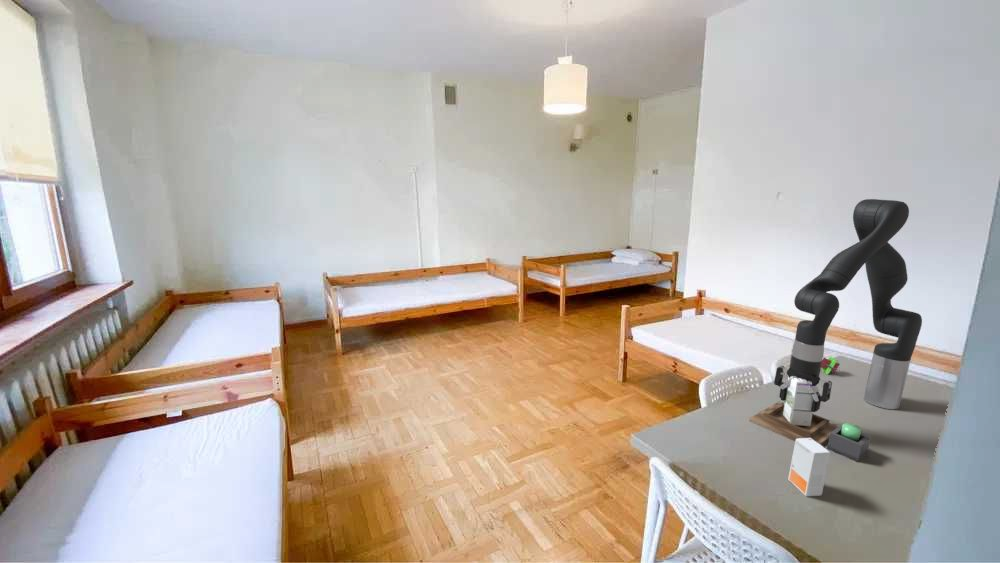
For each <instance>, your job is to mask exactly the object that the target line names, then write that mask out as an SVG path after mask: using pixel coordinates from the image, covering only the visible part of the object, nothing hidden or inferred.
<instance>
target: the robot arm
mask: <svg viewBox="0 0 1000 563" xmlns="http://www.w3.org/2000/svg"><path fill="white" fill-rule="evenodd" d="M909 214H910V210H909V206H908V204H907V203H906V202H904V201H899V200H893V199H892V200H891V199H890V200H889V199H876V198H868V199H867V198H866V199H863V200H860V201H859V202H857V204H856V205H855V207H854V210H853V215H852V221H853V225H854V230H855V232H856V235H857V238H858V240H859V241H858V242H856V243H854V244H852V245H851V246H849V247H847V248H845V249H844V250H841V251H840V252H838V253H837V254H835V255H834V257H832V258H831V259H830V260H829V262H828V263H827V264H826V266H824V268H823V269H822V271H821V273H820V274H818V275H817V276H816V277H814V278H813V279H812V280H811V281H809V282H808V283H806V284H805V285H804V286H802V287H801V288H800V290H798V292H797V293H796V295H795V297H794V301H793V302H794V306H795V308H796V309H797V310H799V311H801V312H804V313H807V314H810V315H814V318H813V319H812V320H809V319H806V320H805V319H804V320H801V321H799V322H798V324H797V326H796V332H795V336H794V337H795V338H794V342H793V344H792V348H791V355H790V360H789V368H786V367H785V366H783V365H781V366H778V367H777V368H776V371H775V376H774V381H773V382H774V383H773V384H774V385H775V386H778V387H779V389H780V391H779V395H778V398H779V399H780V401H782V402H785V396H786V389H787V386H789V385H790V384H791V379H792V378H796V379H798V378H801V379H804V381H807V384H808V391H809V393H810V394H811V395H812V397H813V399H814V400H813V403H812V409H811V411H812V412H813V413H815V412H818V411H819V410H820V407H821V403H822V402H823V403H826V402H828V401H829V400H830V398H831V393H832V385H833V383H832V381H831V380H824V379H821V377H820V374H821V370H822V368H821V365H822V360H823V358H824V354H825V353H824V352H825V342H826V336H827V331H828V329H829V328H830V326H831V324H832V322H833V320H834V318H835V317H836V315H837V313H838V311H839V309H840V302H839V299H838V297H837V296H836V295H835V294H833V293H830V292H840V291H843V290H845V289H846V288H847V287H848V285H850V283H851V281H852V280H853V279H854V277H855V276H856V275H857V273H858V272H859V271H860V270H861V269H862V268H863V266H864V265H865V272H866V276H867V281H868V286H869V290H870V296H871V304H872V308H871V309H872V311H871V312H872V324H873V327H874V329H875V330H876V331H877V332H878V333H880V334H884V335H886V336H891V337H894V338H897V340H896V342H891V343H890V342H887V343H883V342H882V343H877V344H876V345H875V346H874V348H873V352H872V358H871V363H870V367H869V371H868V376H867V380H866V384H865V385H866V387H865V391H864V393H863V394H864V396H863V400H865V401H866V403H868V404H870V405H873V406H876V407H879V408H882V409H887V410H898V409H900V406H901V402H902V398H903V394H904V389H905V385H906V381H907V377H908V373H909V368H910V364H911V361H912V360H911V359H912V356H913V353H914V351H915V348H916V344H917V341H918V338H919V335H920V333H921V329H922V324H923V318H922V316H921V314H920V313H918V312H915V311H909V310H905V309H901V308H897V307H893V305H892V299H893V298H894V297H895V296H896V295H897V294H898V293H899V292H901V290H902V289H903V288H904V287H905V286H906V284H907V282H908V270H907V265H906V261H905V259H904V258H903V256H902V255H901V254H900V252H898V251H897V249H896V248H894V246H892V245H891V244H890V243H889V241H890V240H891V239H892V238H893V237H894V236H896V235H897V233H899V231H901V230H902V228H903V227H904V226H905V224H906V222H907V220H908V219H909ZM786 374H787V376H789V378H790V377H792V376H793V377H792V378H791V379H789V380H788V379H787V381H785V382H783V377H784V375H786ZM808 381H811V383H812V386H815V385H817V389H816V390H813V388H812V387H811V385H810V384H809V383H808ZM818 385H820V387H821V388H822V392H820V389H819V387H818Z"/></svg>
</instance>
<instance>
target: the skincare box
mask: <svg viewBox="0 0 1000 563" xmlns="http://www.w3.org/2000/svg"><path fill="white" fill-rule="evenodd" d="M830 456H831V452H830V450H829V449H827V448H825V447H824V446H823V445H820V444H819V443H817V442H816V441H814V440H813V439H812V438H798V439H796V440H795V441H794V447H793V451H792V457H791V461H790V468H789V473H788V477H787V478H788V479H787V480H788V481H789V482H790V483H791V484H792V485H793V486H794V487H796V489H798V490H799V491H800V492H801V493H802V494H803V495H804V496H805V497H818V496H819V497H820V496H822V495H823V491H824V490H823V489H824V486H825V481H826V476H827V471H828V466H829V461H830V458H831V457H830Z"/></svg>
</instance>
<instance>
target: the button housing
mask: <svg viewBox="0 0 1000 563" xmlns="http://www.w3.org/2000/svg"><path fill="white" fill-rule="evenodd" d="M838 426H839V427H837V428H836V429H835V430H833V431H832V432H831V433H830V436H829V440H828V441H827V442H828V443H827V447H826V450H828V451H831V452H833V453H835V454H838V455H841V456H843V457H844V458H848V459H849V460H852V461H854V462H856V463H858V462H859V461H861V460H862V458H863V457H865V456H866V455H867V454H868V450H869V446H870V443H871V442H870V441H871V438H872V437H871V436H870V435H869V436H868V435H867V434H863V433H861V434H860V438H859V440H858V441H853V440H851V439H848V438H846V437H843V436H841V430H842V426H843V425H838Z"/></svg>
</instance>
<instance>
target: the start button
mask: <svg viewBox="0 0 1000 563" xmlns="http://www.w3.org/2000/svg"><path fill="white" fill-rule="evenodd" d="M841 426H842V430H841V436H843V437H846V438H848V439H851V440H853V441H858V440H859V438H860V434H862V433H861V432H862V428H861V427H860V426H858V425H856V424H853V423H849V422H845V423H844V422H843V423H842V425H841Z"/></svg>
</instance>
